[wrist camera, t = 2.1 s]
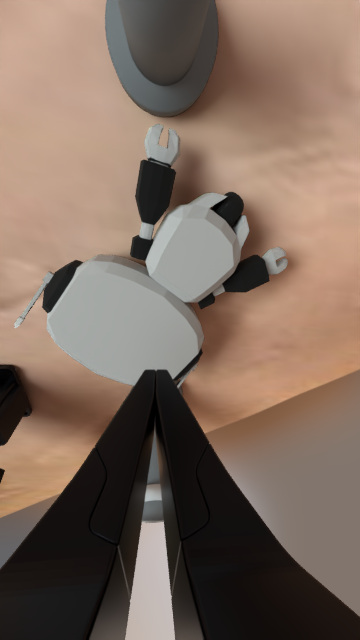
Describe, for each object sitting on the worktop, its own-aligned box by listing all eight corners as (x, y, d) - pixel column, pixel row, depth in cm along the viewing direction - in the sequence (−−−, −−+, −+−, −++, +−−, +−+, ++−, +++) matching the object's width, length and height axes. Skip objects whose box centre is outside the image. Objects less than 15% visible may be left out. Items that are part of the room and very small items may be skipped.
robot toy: (152, 119, 13) (35, 307, 18) (153, 84, 9) (1, 338, 14) (278, 254, 18) (161, 376, 22) (315, 268, 14) (163, 414, 18)
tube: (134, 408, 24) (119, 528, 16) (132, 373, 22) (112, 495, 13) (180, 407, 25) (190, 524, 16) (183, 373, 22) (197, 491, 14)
